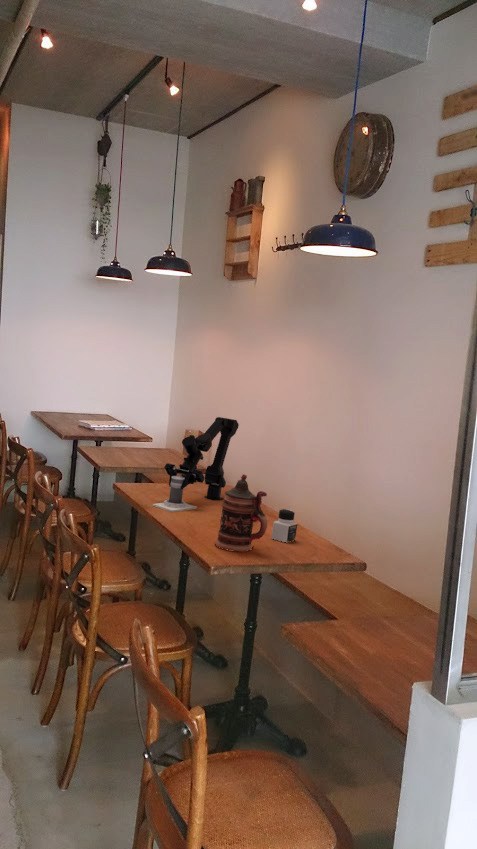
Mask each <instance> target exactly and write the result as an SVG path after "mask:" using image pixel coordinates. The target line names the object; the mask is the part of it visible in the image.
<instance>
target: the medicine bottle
mask: <svg viewBox="0 0 477 849" xmlns="http://www.w3.org/2000/svg"><path fill="white" fill-rule="evenodd" d="M278 512H279V513H278V520H275V521H273V523H272V524H273V525H272V532H271V540H273V539H274V541H277V540H278V542H281V541H282V542H281V543H284V542H286V543H285V544H289V543H292V542H294V540H295V541H296V536H297V529H298V523H297V522H295V521H294V520H295V511H293V510H291V509H288V508H287V509H286V508H283V509H280V510H279V511H278ZM291 541H292V542H291ZM288 542H289V543H288Z"/></svg>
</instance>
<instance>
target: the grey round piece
mask: <svg viewBox="0 0 477 849" xmlns="http://www.w3.org/2000/svg"><path fill="white" fill-rule="evenodd" d="M184 479H185V478H184V477H182V475H181V476H180V475H177V476H172V480H171V485H170V486H171V487H170V486H169V487H170V488H169V490H170V491H169V497H168V499H169V502H171V503H182V501H183V494H184V488H183V489H181V485H182V483H183V481H184Z"/></svg>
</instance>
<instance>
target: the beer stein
mask: <svg viewBox="0 0 477 849" xmlns="http://www.w3.org/2000/svg"><path fill="white" fill-rule="evenodd" d="M247 476H248V475H246V474H242V475H241V476H240V478H241V479H239V480H237V482H236V484H235V486H234V487H232V488H231V489H230V490H226V491H224V494H225V495H224V499H223V501H222V503H221V506H222V508H221V509H222V510H221V516H220V520H219V522H220V523H219V525H220V526H219V530H217V535H218V537H217V539H216V541H215V542H216V546H218V547H220V548H223V549H228V550H234V551H233V552H235V551H247V550H250V549H252V546H253V545H252V541H253V540H260V539H261V538H262V537H263V536H264V535H265V534H266V531H267V528H268V519H267V517H266V514H265V513H264V511H263V509H262V508H261V505H262V497H267V496H268V495H267V492H265V491H262V490H260V491H258V492H257V493H256V495H255V494H254V493H252V492H251V491H250V489H249V484H248V482H247ZM254 521H259V522H260V527H259V528H260V529H259V530H258V531H257V532H255V533H254V532H253V526H254ZM216 546H215V547H216ZM218 547H217V548H218ZM220 548H219V549H220ZM223 549H222V550H223ZM252 550H253V549H252ZM250 551H251V550H250Z"/></svg>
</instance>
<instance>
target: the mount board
mask: <svg viewBox="0 0 477 849" xmlns="http://www.w3.org/2000/svg"><path fill="white" fill-rule="evenodd" d="M151 506H152V507H155V508H157V509H160V510H163V511H166V512H169V513H175V512H184V511H191V510H197V509H198V506H195V505H192V504H189V503H187V502H186V501H183V500H182V503H171V502H169V498H168V499H165V500H163V502H159V503H152V504H151Z"/></svg>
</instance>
